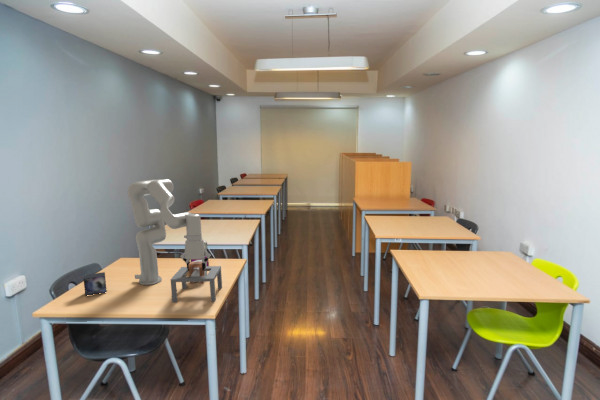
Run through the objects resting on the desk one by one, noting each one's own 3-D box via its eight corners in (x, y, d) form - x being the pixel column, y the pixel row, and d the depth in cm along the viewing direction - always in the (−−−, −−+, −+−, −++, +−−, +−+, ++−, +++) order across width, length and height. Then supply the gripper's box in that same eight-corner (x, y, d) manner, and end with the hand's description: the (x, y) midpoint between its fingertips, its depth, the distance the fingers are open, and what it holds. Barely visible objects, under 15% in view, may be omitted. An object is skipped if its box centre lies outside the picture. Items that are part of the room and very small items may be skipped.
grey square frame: (172, 302, 198) (170, 275, 195) (183, 288, 217) (181, 263, 214) (214, 301, 198) (213, 274, 195) (222, 287, 217) (220, 262, 214)
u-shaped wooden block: (189, 284, 204) (188, 264, 202) (191, 281, 208) (190, 261, 206) (202, 283, 204) (201, 264, 202) (204, 280, 208) (203, 261, 206)
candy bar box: (207, 264, 257) (206, 240, 254) (209, 266, 252) (207, 242, 250) (190, 266, 253) (188, 242, 250) (191, 268, 248) (189, 244, 245)
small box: (85, 297, 207) (82, 278, 205) (85, 293, 213) (83, 275, 211) (106, 293, 212) (104, 275, 210) (106, 289, 217) (104, 271, 216)
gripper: (175, 239, 198) (178, 272, 201) (209, 239, 198) (211, 271, 201) (180, 236, 206) (182, 267, 209) (212, 235, 206) (214, 267, 209)
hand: (196, 269), depth 205 cm, fingers closed on u-shaped wooden block, 7 cm apart
